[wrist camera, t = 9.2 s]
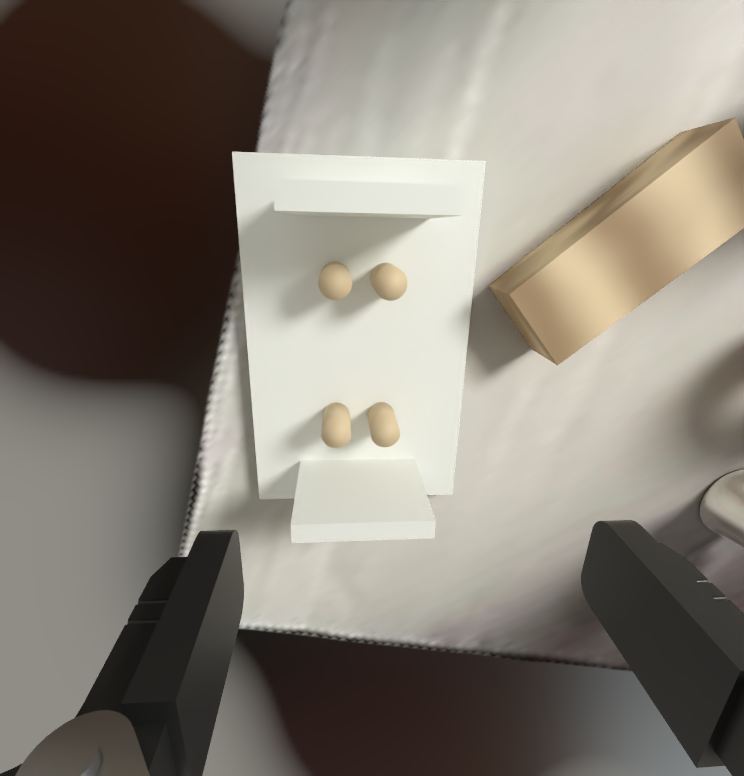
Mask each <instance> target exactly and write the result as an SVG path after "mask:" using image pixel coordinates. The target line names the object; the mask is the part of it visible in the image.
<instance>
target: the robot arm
mask: <svg viewBox="0 0 744 776" xmlns="http://www.w3.org/2000/svg"><path fill="white" fill-rule="evenodd" d="M581 584H582V589H583V593H584V596H585V598H586V601H587V602H588V604H589V606H590V607H591V609H592V610H593V612H594V613H595V615H596V616H597V618H598V619H599V621H600V622H601V624H602V625H603V627H604V628H605V630H606V631H607V633H608V635H609V636H610V638H611V639H612V641H613V642H614V644H615V645H616V647H617V648H618V650H619V651H620V653H621V654H622V656H623V657H624V659H625V660H626V662H627V663H628V665H629V666H630V668H631V669H632V671H633V672H634V674H635V675H636V677H637V678H638V680H639V681H640V683H641V684H642V686H643V687H644V689H645V690H646V692H647V693H648V695H649V697H650V698H651V699H652V701H653V703H654V704H655V706H656V707H657V709H658V710H659V711H660V713H661V714H662V716H663V718H664V719H665V721H666V722H667V724H668V725H669V727H670V728H671V730H672V731H673V733H674V734H675V736H676V737H677V739H678V740H679V742H680V743H681V745H682V746H683V748H684V749H685V751H686V752H687V754H688V755H689V757H690V759H691V760H692V761H693V763H694V765H695V766H696V767H697V768H698V767H712V766H726V767H727V769H728V770H729V772H730V773H731V774H732V776H744V613H743V612H741V611H740V610H739V609H738V608H737V607H736V606H735V605H734V604H733V603H732V602H731V601H730V600H726V599H725V595H724V594H723V593H722V592H721V591H720V590H719V589H717V588H716V587H715V586H714V585H713V584H712V583H708V579H707V578H706V577H705V576H704V575H703V574H702V573H701V572H700V571H699V570H698V569H697V568H696V567H695V566H693V565H692V564H691V563H690V562H689V561H688V560H687V559H686V558H684V557H682V556H681V555H679V554H678V553H676V552H675V551H673V550H671V549H670V548H668V547H667V546H665V545H663V544H662V543H658V542H657V541H656V540H655V539H654V538H653V537H652V536H651V535H650V534H649V533H648V532H647V531H646V530H645V529H644V528H643V527H642V526H641V525H639V524H638V523H637V522H635V521H632V520H619V521H598V522H597V523H595V525H594V526H593V529H592V533H591V537H590V541H589V545H588V549H587V553H586V557H585V561H584V565H583V569H582V574H581ZM243 600H244V583H243V573H242V563H241V553H240V543H239V535H238V532H237V530H219V531H200V532H199V533H198V535H197V537H196V539H195V541H194V543H193V546H192V548H191V550H190V552H189V555H188V557H172V558H170V559H169V560H168V561H167V562H166V563H165V564H164V565H163V566H162V567H161V568H160V569H159V570H158V571H156V572H155V573H154V574H153V575H152V576H151V577H150V579H149V581H148V583H147V585H146V587H145V589H144V590H143V593H142V595H141V596H140V598H139V602H138V605H136V606H135V608H134V610H133V611H132V613H131V615H130V617H129V619H128V624H127V625H125V626H124V628H123V630H122V632H121V634H120V636H119V638H118V640H117V641H116V643H115V645H114V647H113V649H112V651H111V653H110V655H109V657H108V659H107V660H106V662H105V664H104V666H103V668H102V670H101V672H100V673H99V676H98V677H97V679H96V681H95V683H94V685H93V687H92V689H91V690H90V693H89V694H88V696H87V698H86V700H85V702H84V704H83V706H82V707H81V709H80V711H79V712H78V714H77V715H76V717H75V718H74V719H72V720H70V721H68V722H66V723H64V724H63V725H61V726H60V727H58V728H57V729H55V730H54V731H53V732H52V733H50V734H49V735H48V736H47V737H45V738H44V740H42V741H41V742H40V743H39V744H38V745H37V746H36V747H35V748H34V750H33V751H32V752H31V753H30V754H29V755H28V757H27V758H26V759H25V761H24V762H23V763H22V764H21V765H19V766H17V767H15V768H13V769H11V770H8V771H6V772H4V773H1V774H0V776H202V774H203V770H204V766H205V762H206V758H207V754H208V750H209V746H210V742H211V737H212V734H213V729H214V726H215V721H216V717H217V713H218V709H219V705H220V701H221V697H222V693H223V689H224V685H225V681H226V677H227V672H228V668H229V664H230V660H231V656H232V652H233V648H234V644H235V640H236V636H237V631H238V628H239V624H240V620H241V615H242V609H243Z"/></svg>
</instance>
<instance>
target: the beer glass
mask: <svg viewBox="0 0 744 776" xmlns="http://www.w3.org/2000/svg"><path fill="white" fill-rule="evenodd" d="M700 518H701V520H702V522H703V523H704V525H705V526H706V527H707V528H708V529H710V530H711V531H713V532H714V533H716V534H718V535H720V536H722V537H723V538H725V539H727V540H729V541H731V542H732V543H734V544H736V545H737V546H739V547H740V548H742V549H743V550H744V469H743V470H738V471H734V472H731V473H729V474H727V475H725V476H723V477H722V478H720V479H719V480H717V481H716V482H715V483H714V484H713V485H712V486H711V487H710V488H709V489H708V490H707V492H706V493H705V495H704V496H703V498H702V501H701V504H700Z"/></svg>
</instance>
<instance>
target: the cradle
mask: <svg viewBox="0 0 744 776" xmlns="http://www.w3.org/2000/svg"><path fill="white" fill-rule="evenodd" d="M232 159H233V172H234V184H235V197H236V210H237V223H238V235H239V248H240V261H241V273H242V286H243V299H244V311H245V324H246V337H247V349H248V362H249V374H250V387H251V400H252V412H253V425H254V438H255V450H256V463H257V476H258V488H259V500H260V499H294V506H293V512H292V519H291V543H307V542H336V541H366V540H395V539H424V538H434V535H435V524H436V520H435V517H434V514H433V511H432V508H431V505H430V502H429V499H428V496H427V495H451V494H453V484H454V474H455V464H456V454H457V444H458V434H459V424H460V414H461V404H462V394H463V384H464V374H465V364H466V354H467V344H468V334H469V325H470V315H471V305H472V295H473V285H474V275H475V265H476V255H477V245H478V235H479V225H480V215H481V205H482V195H483V185H484V175H485V165H486V161H471V160H444V159H417V158H390V157H363V156H335V155H308V154H281V153H254V152H252V153H251V152H232Z"/></svg>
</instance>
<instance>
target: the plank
mask: <svg viewBox="0 0 744 776" xmlns="http://www.w3.org/2000/svg"><path fill="white" fill-rule="evenodd" d="M743 228H744V139H743V136H742V134H741V131H740V129H739V126H738V124H737V121H736V119H735V118H732V119H728V120H725V121H721V122H717V123H714V124H710V125H706V126H703V127H699V128H695V129H692V130H688V131H684V132H681V133H680V134H679V135H677V136H676V137H675V138H674V139H672V140H671V141H670V142H669V143H667V144H666V145H665V146H664V147H662V148H661V149H660V150H659V151H657V152H656V153H655V154H654V155H652V156H651V157H650V158H649V159H647V160H646V161H645V162H643V163H642V164H641V165H640V166H638V167H637V168H636V169H635V170H633V171H632V172H631V173H630V174H628V175H627V176H626V177H625V178H623V179H622V180H621V181H620V182H618V183H617V184H616V185H615V186H613V187H612V188H611V189H610V190H608V191H607V192H606V193H605V194H603V195H602V196H601V197H600V198H598V199H597V200H596V201H595V202H593V203H592V204H591V205H589V206H588V207H587V208H586V209H584V210H583V211H582V212H581V213H579V214H578V215H577V216H576V217H574V218H573V219H572V220H571V221H569V222H568V223H567V224H566V225H564V226H563V227H562V228H561V229H559V230H558V231H557V232H556V233H554V234H553V235H552V236H551V237H549V238H548V239H547V240H546V241H544V242H543V243H542V244H540V245H539V246H538V247H537V248H535V249H534V250H533V251H532V252H530V253H529V254H528V255H527V256H525V257H524V258H523V259H522V260H520V261H519V262H518V263H517V264H515V265H514V266H513V267H512V268H510V269H509V270H508V271H507V272H505V273H504V274H503V275H502V276H500V277H499V278H498V279H497V280H495V281H494V282H493V283H491V284H490V285H489V288H490V289H491V291H492V292H493V294H494V295H495V297H496V298H497V299H498V301H499V302H500V304H501V305H502V307H503V308H504V310H505V311H506V312H507V314H508V315H509V317H510V318H511V320H512V321H513V322H514V324H515V325H516V327H517V328H518V330H519V331H520V333H521V334H522V335H523V337H524V338H525V340H526V341H527V343H528V344H529V346H530V347H531V348H532V349H533V350H534V351H536V352H537V353H539V354H541V355H542V356H544V357H545V358H547V359H549V360H550V361H552V362H553V363H555V364H556V365H558V364H560V363H561V362H563V361H564V360H565V359H567V358H568V357H569V356H571V355H572V354H573V353H575V352H576V351H578V350H579V349H580V348H582V347H583V346H584V345H586V344H587V343H588V342H590V341H591V340H592V339H594V338H595V337H597V336H598V335H599V334H601V333H602V332H603V331H605V330H606V329H607V328H609V327H610V326H612V325H613V324H614V323H616V322H617V321H618V320H620V319H621V318H622V317H624V316H625V315H626V314H628V313H629V312H631V311H632V310H633V309H635V308H636V307H637V306H639V305H640V304H641V303H643V302H644V301H646V300H647V299H648V298H650V297H651V296H652V295H654V294H655V293H656V292H658V291H659V290H660V289H662V288H663V287H665V286H666V285H667V284H669V283H670V282H671V281H673V280H674V279H675V278H677V277H678V276H680V275H681V274H682V273H684V272H685V271H686V270H688V269H689V268H690V267H692V266H693V265H694V264H696V263H697V262H699V261H700V260H701V259H703V258H704V257H705V256H707V255H708V254H709V253H711V252H712V251H714V250H715V249H716V248H718V247H719V246H720V245H722V244H723V243H724V242H726V241H727V240H728V239H730V238H731V237H733V236H734V235H735V234H737V233H738V232H739V231H741V230H742V229H743Z"/></svg>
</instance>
